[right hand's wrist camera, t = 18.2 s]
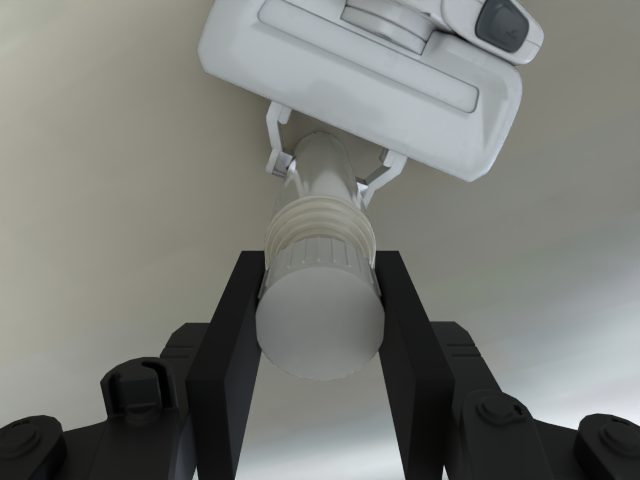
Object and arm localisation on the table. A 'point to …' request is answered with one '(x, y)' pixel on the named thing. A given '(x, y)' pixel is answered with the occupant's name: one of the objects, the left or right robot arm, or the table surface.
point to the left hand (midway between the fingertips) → (315, 189)
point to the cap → (320, 310)
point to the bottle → (320, 200)
